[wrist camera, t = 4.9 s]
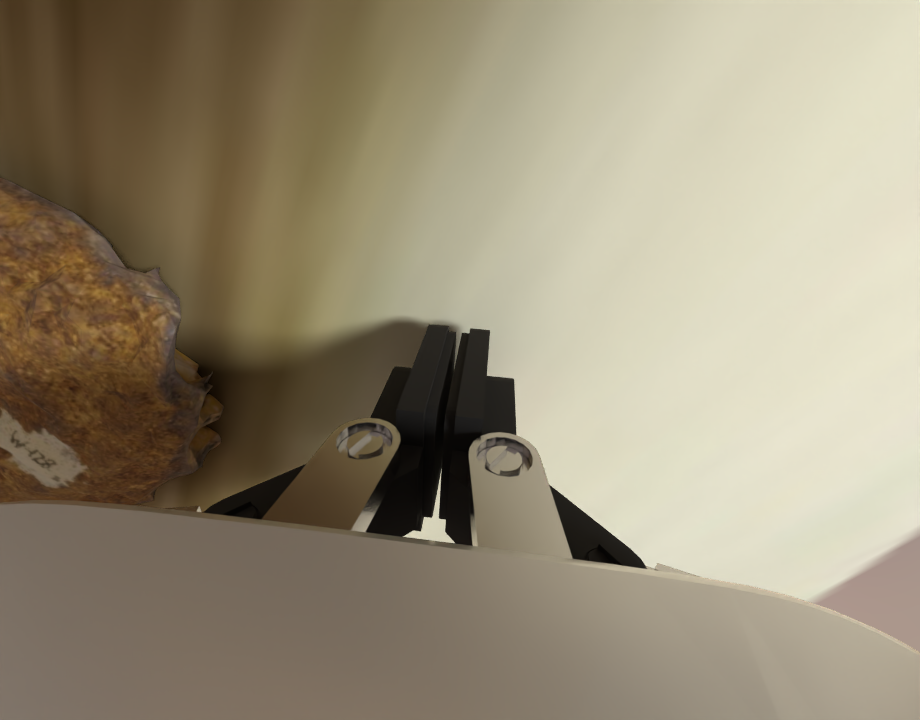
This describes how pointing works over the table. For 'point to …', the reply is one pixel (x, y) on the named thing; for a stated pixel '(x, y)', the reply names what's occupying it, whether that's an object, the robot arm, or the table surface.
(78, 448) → the decorative rock
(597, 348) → the table surface
